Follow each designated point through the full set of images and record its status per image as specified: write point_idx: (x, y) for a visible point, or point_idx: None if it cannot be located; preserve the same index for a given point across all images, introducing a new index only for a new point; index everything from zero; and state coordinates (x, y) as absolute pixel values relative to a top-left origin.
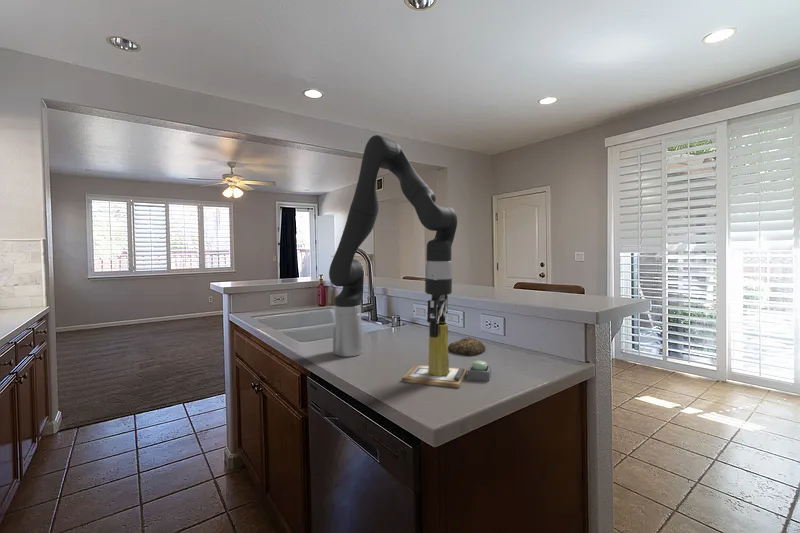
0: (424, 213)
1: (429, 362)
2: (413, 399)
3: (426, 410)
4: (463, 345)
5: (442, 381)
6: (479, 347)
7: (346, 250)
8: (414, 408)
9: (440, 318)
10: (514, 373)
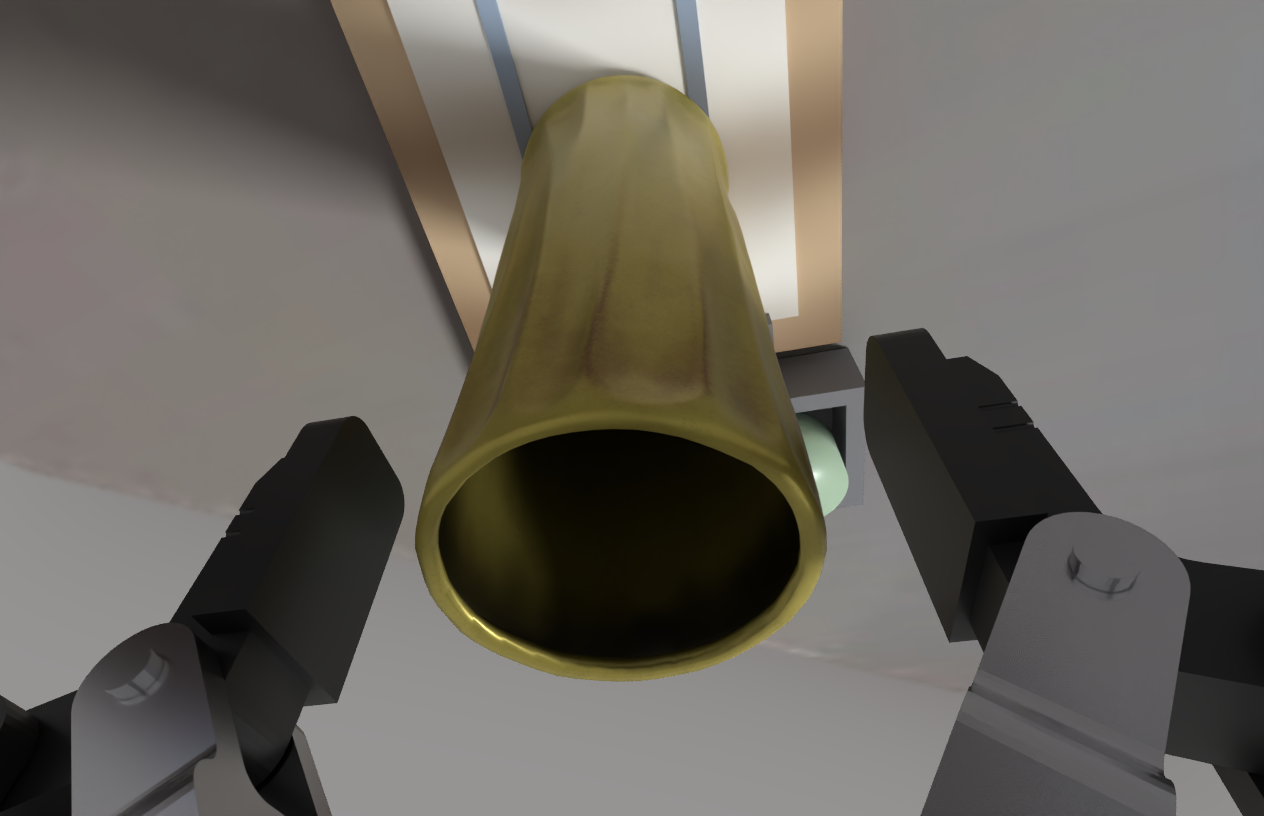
0: None
1: (543, 149)
2: (91, 207)
3: (60, 351)
4: None
5: (470, 286)
6: None
7: None
8: (3, 281)
9: (954, 566)
10: (905, 547)
